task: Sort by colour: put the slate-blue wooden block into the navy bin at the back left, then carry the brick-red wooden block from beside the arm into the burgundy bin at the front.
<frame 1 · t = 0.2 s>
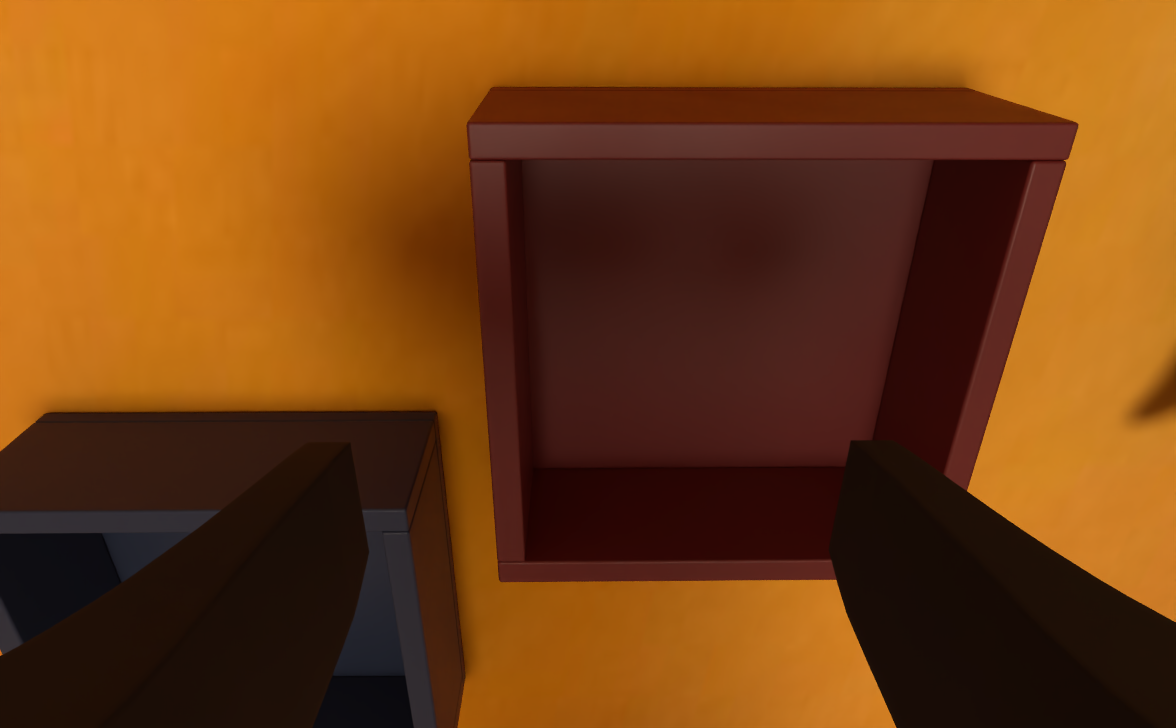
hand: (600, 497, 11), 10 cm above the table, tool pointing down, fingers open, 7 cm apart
red bin: (711, 307, 20), on the table
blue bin: (279, 559, 24), on the table
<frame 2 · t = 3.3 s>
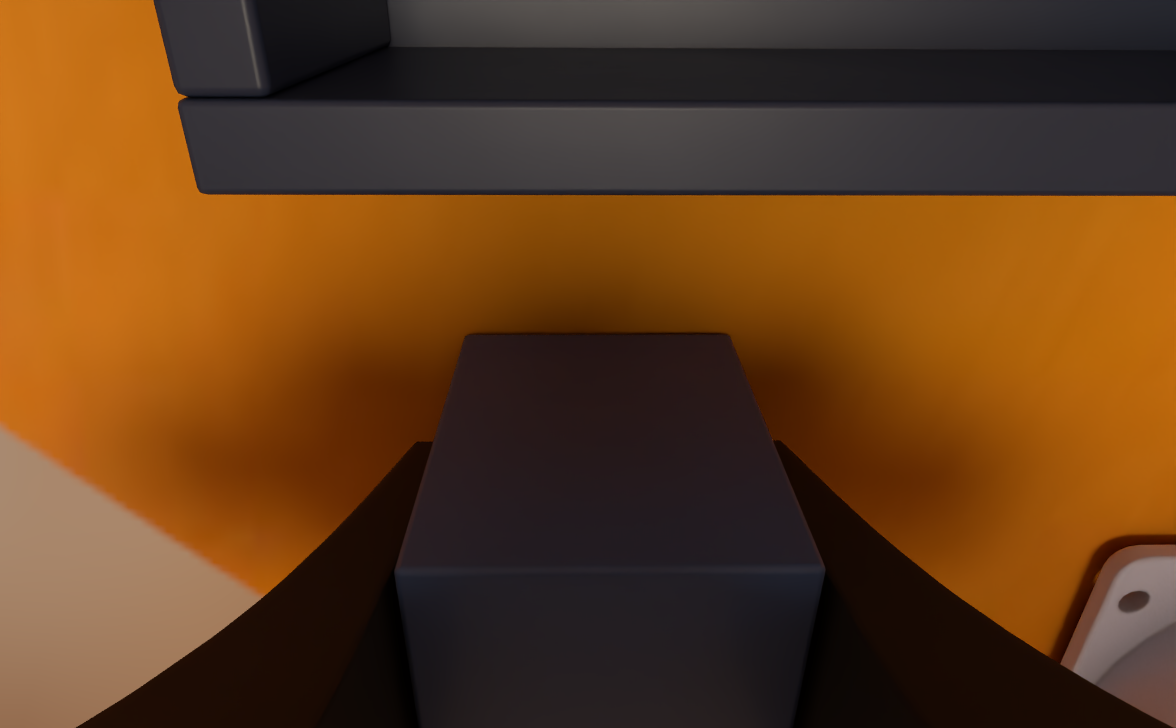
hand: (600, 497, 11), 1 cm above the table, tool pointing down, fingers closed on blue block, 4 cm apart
blue block: (596, 443, 12), on the table, touching gripper
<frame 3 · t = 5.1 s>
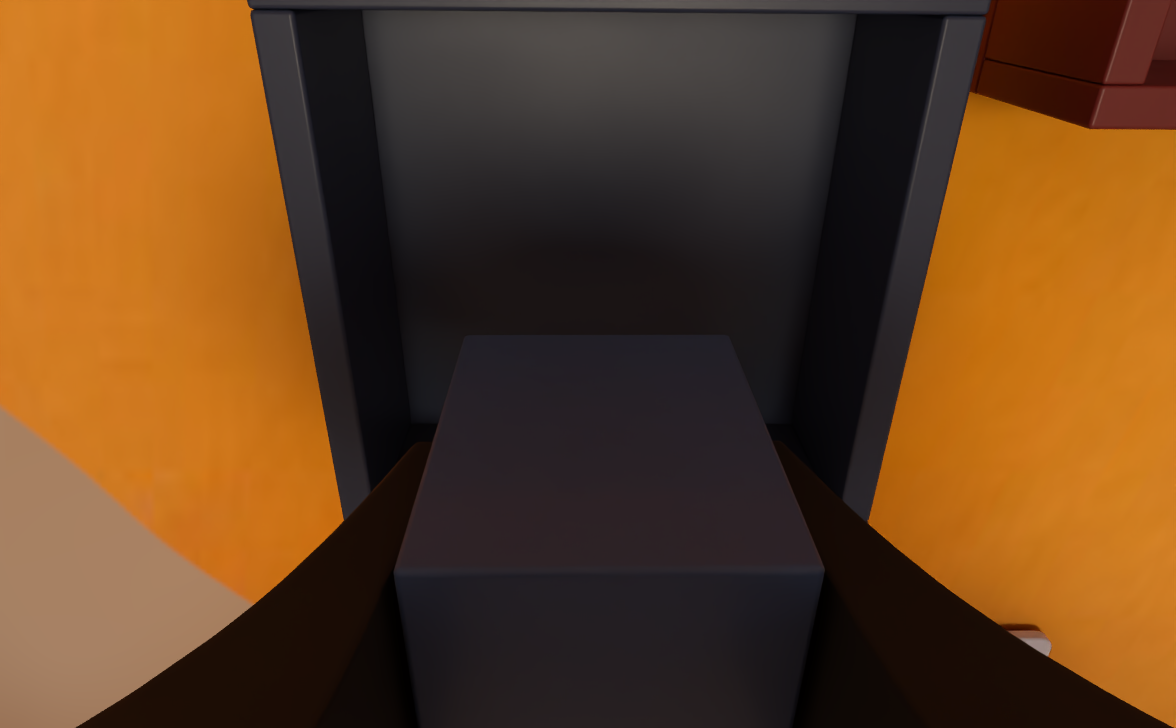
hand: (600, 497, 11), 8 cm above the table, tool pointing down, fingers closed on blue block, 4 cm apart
blue block: (595, 443, 12), point 7 cm above the table, touching gripper
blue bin: (605, 234, 18), on the table
when the fingers open (2 cm above the table, at t = 7.4 s): blue block stays where it is, resting on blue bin.
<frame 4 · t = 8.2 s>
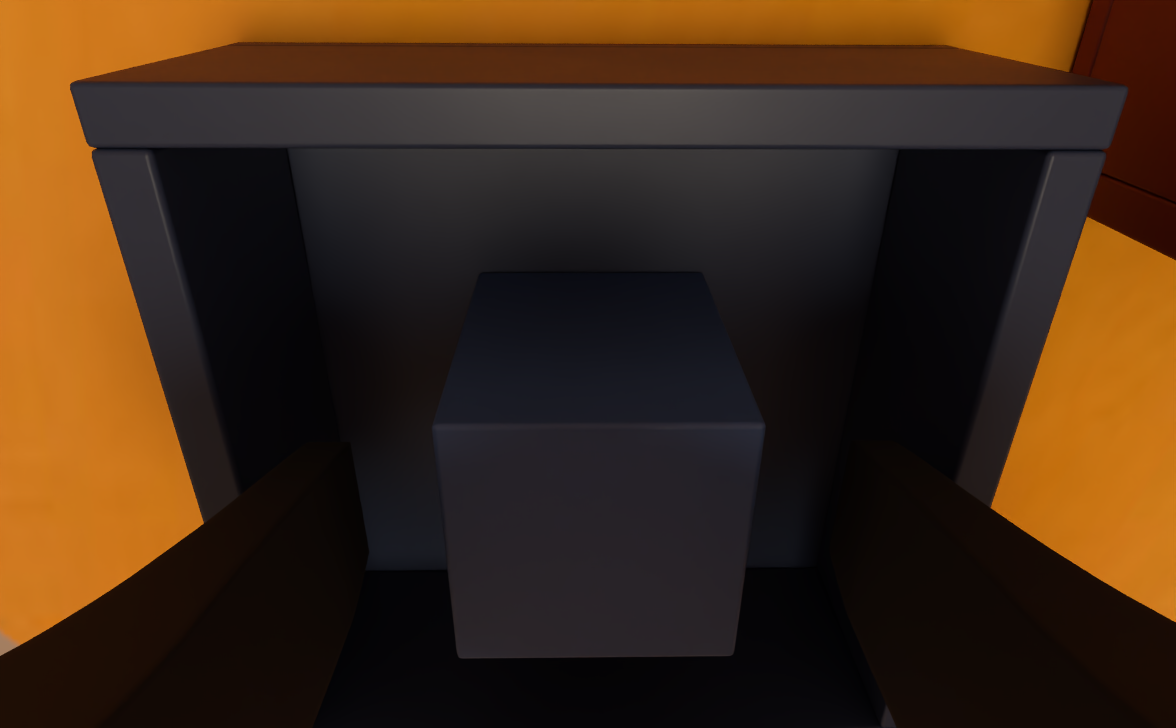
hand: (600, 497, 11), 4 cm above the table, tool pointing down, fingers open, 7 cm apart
blue block: (590, 370, 14), resting on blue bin
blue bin: (592, 358, 15), on the table
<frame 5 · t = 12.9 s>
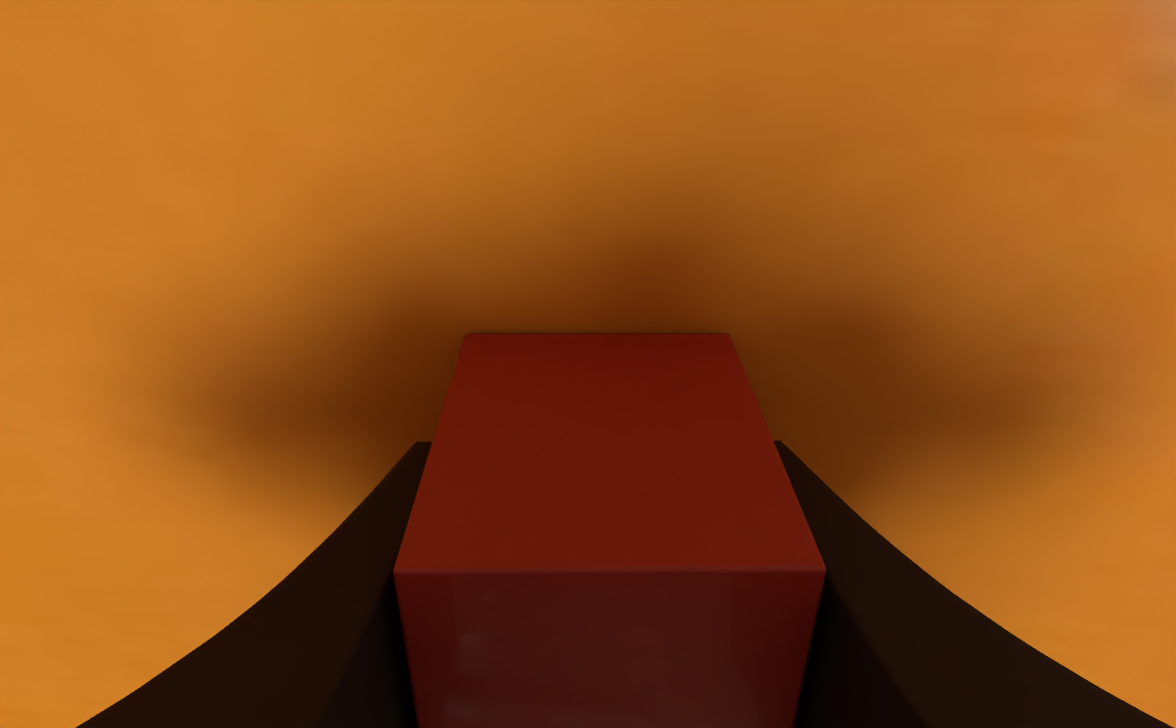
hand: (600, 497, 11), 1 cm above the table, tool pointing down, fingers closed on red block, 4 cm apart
red block: (596, 443, 12), on the table, touching gripper
when the fingers open (2 cm above the table, at t = 18.8 s): red block stays where it is, resting on red bin.
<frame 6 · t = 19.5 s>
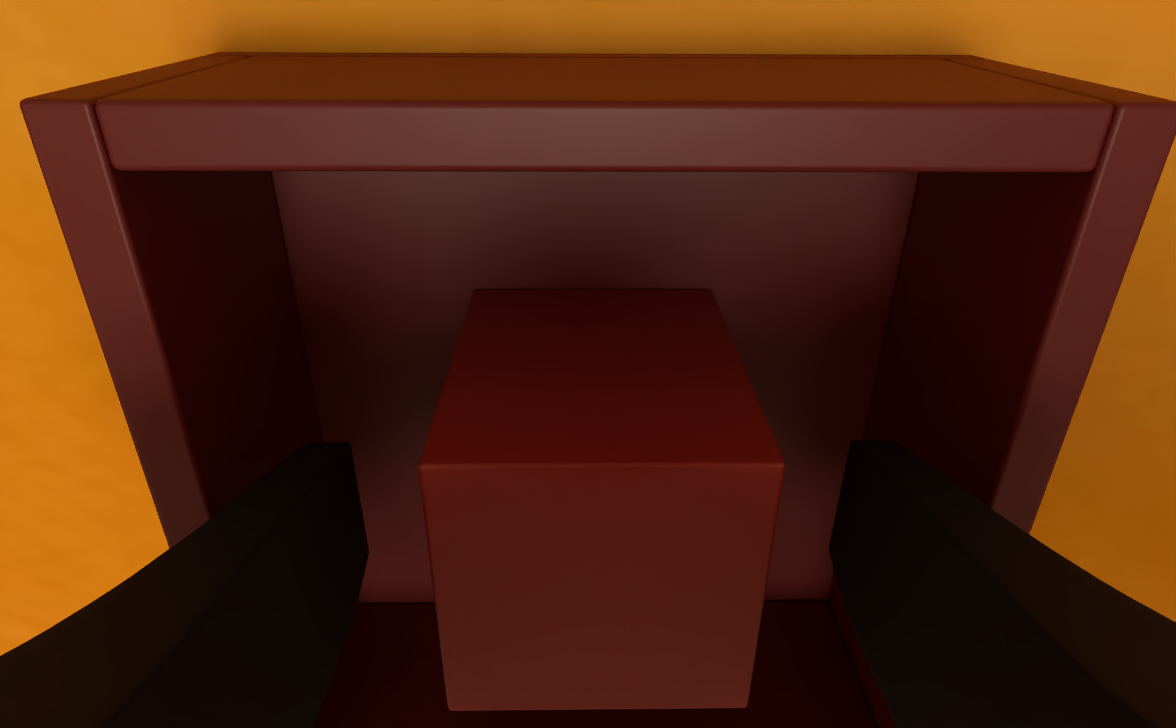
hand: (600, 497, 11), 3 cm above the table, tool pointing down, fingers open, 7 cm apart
red block: (591, 391, 13), resting on red bin
red bin: (594, 383, 14), on the table
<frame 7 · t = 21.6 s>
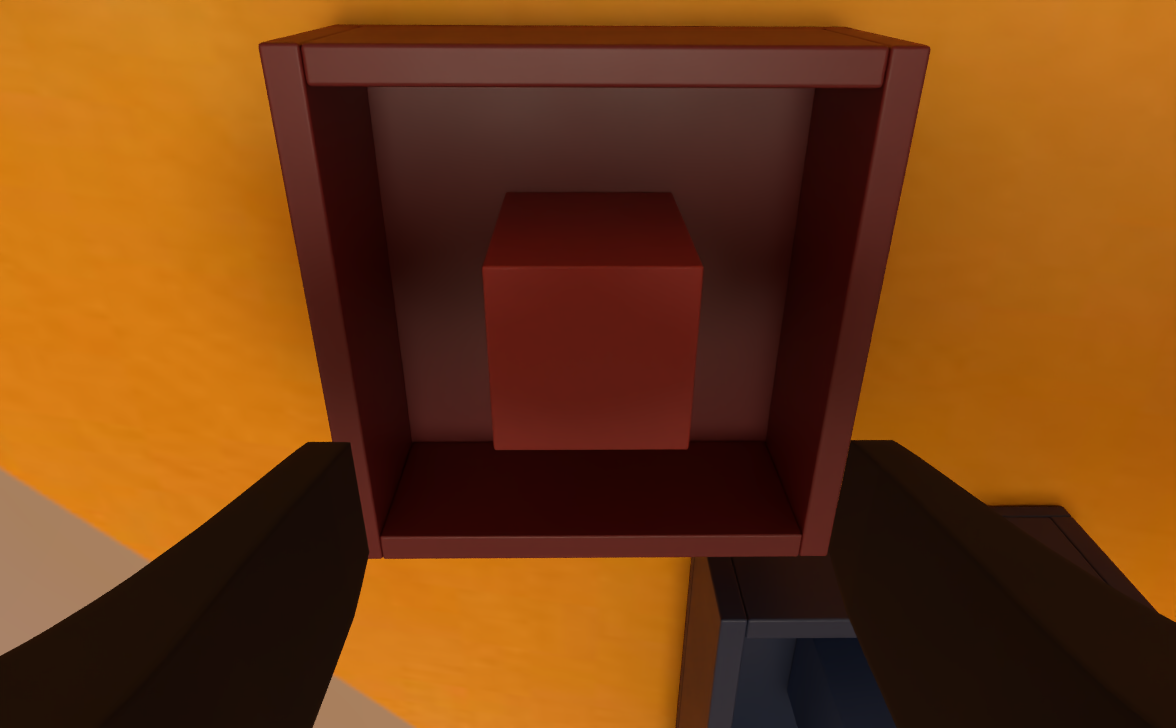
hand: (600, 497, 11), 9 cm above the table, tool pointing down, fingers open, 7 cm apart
blue block: (852, 650, 25), resting on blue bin
red block: (588, 270, 19), resting on red bin
red bin: (590, 268, 19), on the table
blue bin: (848, 637, 26), on the table
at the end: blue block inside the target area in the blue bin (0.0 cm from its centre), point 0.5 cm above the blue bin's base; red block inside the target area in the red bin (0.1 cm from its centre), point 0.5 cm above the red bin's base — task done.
